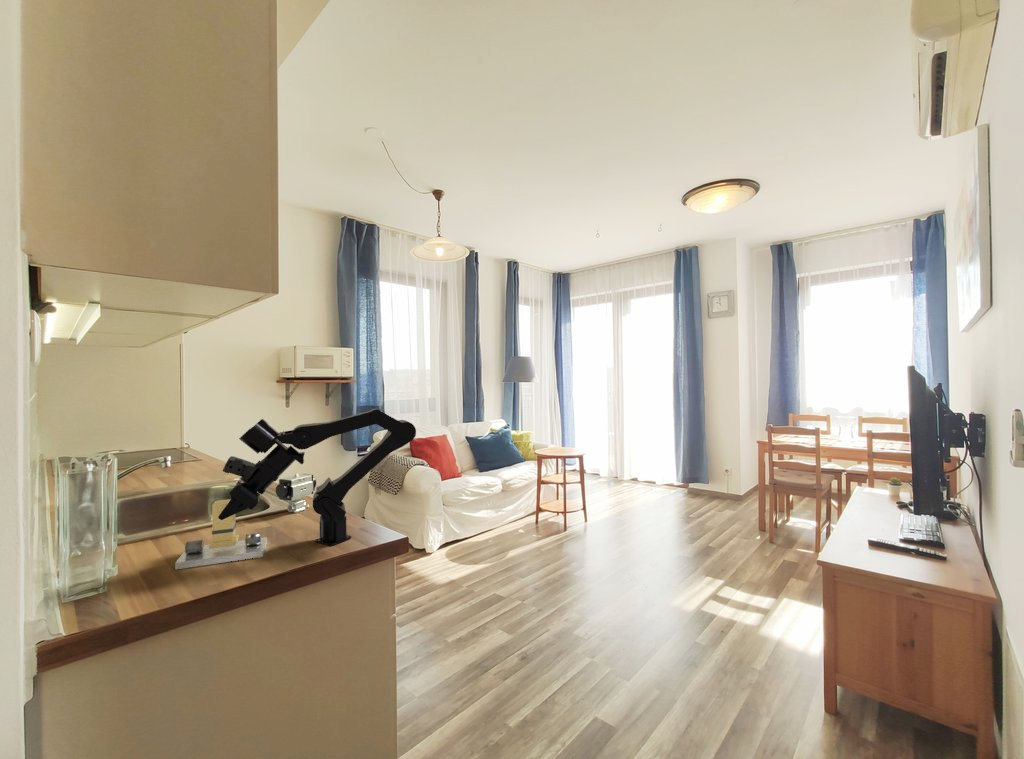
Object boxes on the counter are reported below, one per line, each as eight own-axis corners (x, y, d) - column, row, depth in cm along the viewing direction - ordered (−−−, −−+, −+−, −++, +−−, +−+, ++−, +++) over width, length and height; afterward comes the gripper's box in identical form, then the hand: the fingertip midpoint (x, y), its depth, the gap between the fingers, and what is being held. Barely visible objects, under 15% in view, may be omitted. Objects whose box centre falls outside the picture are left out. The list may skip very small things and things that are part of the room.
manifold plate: (267, 542, 115) (267, 526, 115) (262, 557, 106) (262, 539, 106) (187, 553, 108) (187, 535, 108) (175, 569, 99) (175, 550, 99)
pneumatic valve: (275, 515, 138) (274, 476, 138) (306, 505, 149) (306, 469, 148) (288, 517, 136) (287, 478, 136) (318, 507, 146) (318, 470, 146)
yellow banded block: (239, 538, 111) (238, 497, 110) (235, 545, 106) (234, 503, 106) (214, 541, 109) (213, 500, 108) (209, 549, 104) (208, 505, 104)
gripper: (251, 439, 117) (202, 486, 113) (239, 450, 100) (181, 505, 96) (285, 466, 121) (238, 513, 116) (279, 481, 103) (224, 536, 99)
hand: (221, 516), depth 107 cm, fingers closed on yellow banded block, 4 cm apart
